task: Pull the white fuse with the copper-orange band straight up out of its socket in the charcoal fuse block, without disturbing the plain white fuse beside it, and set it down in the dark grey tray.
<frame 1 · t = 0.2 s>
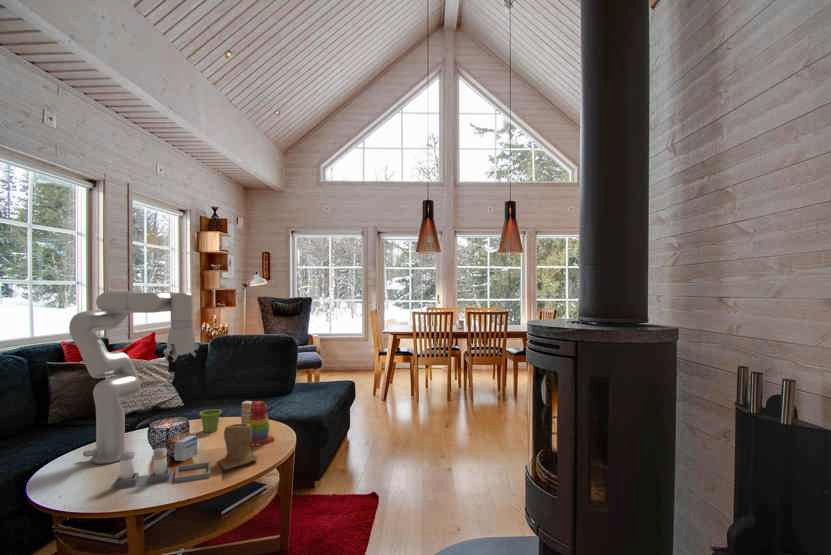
hand: (182, 369, 181), 37 cm above the table, tool pointing down, fingers open, 9 cm apart
supplement box: (251, 430, 224), on the table
fuse block: (143, 485, 164), on the table
brown piece: (235, 464, 182), on the table
tray: (193, 477, 169), on the table
medicine box: (186, 461, 186), on the table
stacking bear: (258, 442, 207), on the table
plain fuse: (127, 483, 162), point 1 cm above the table, touching fuse block
plant pot: (210, 431, 223), on the table
marked fuse: (160, 478, 165), point 1 cm above the table, touching fuse block
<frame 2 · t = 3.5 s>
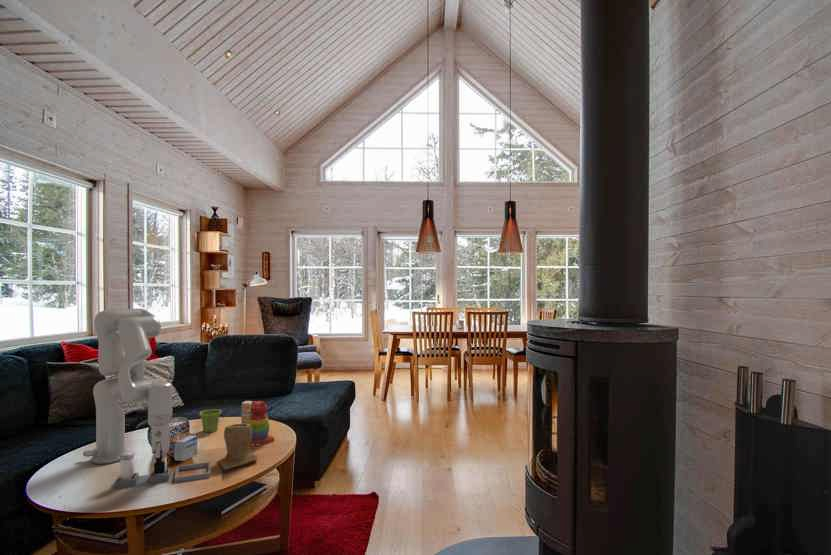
hand: (160, 470, 165), 4 cm above the table, tool pointing down, fingers closed on marked fuse, 4 cm apart
marked fuse: (160, 478, 165), point 1 cm above the table, touching fuse block, gripper
everything else where it was.
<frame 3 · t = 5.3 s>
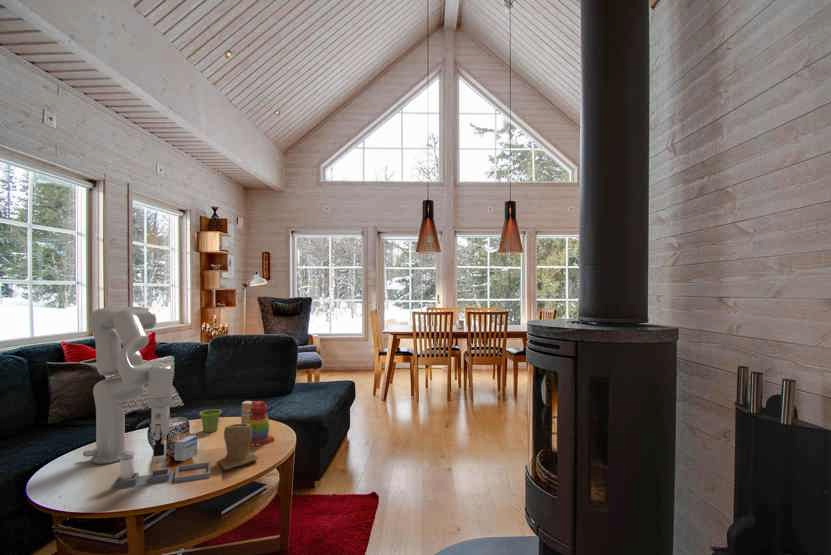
hand: (159, 452, 166), 10 cm above the table, tool pointing down, fingers closed on marked fuse, 4 cm apart
marked fuse: (159, 460, 166), point 8 cm above the table, touching gripper
everything else where it was.
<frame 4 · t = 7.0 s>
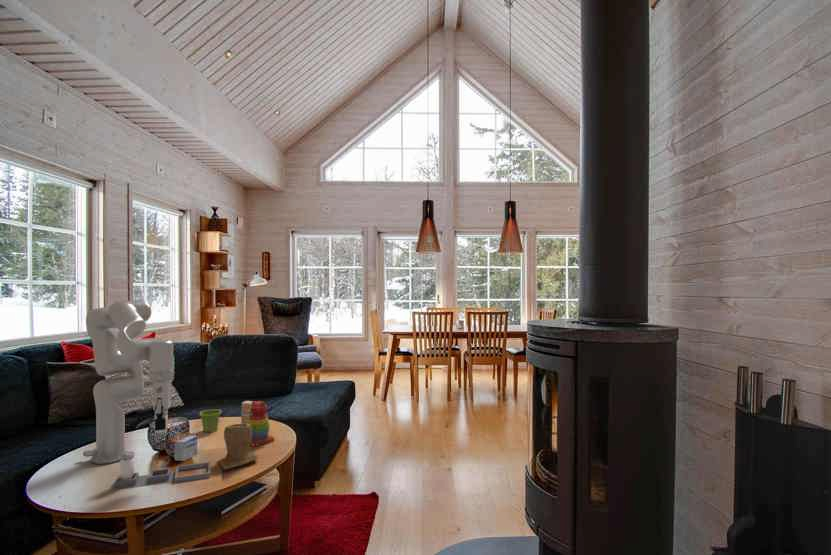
hand: (161, 427, 166), 19 cm above the table, tool pointing down, fingers closed on marked fuse, 4 cm apart
marked fuse: (161, 435, 166), point 16 cm above the table, touching gripper
everything else where it was.
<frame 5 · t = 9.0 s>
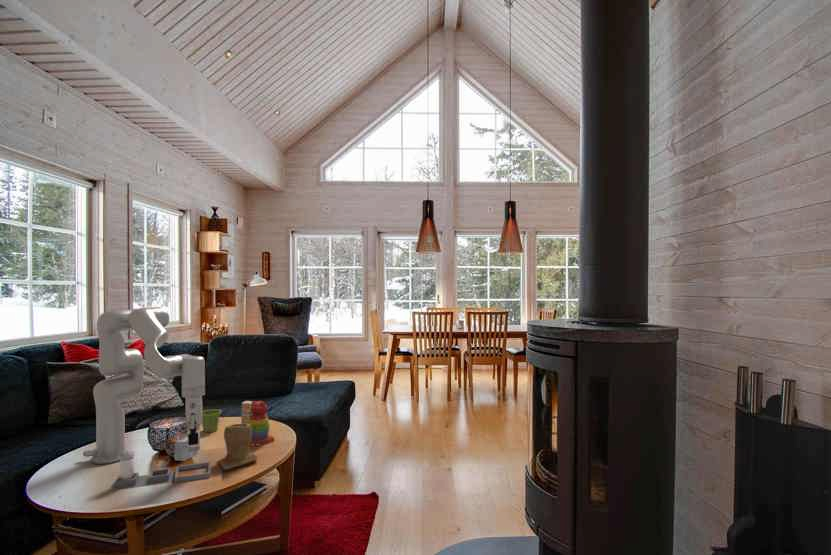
hand: (193, 441, 169), 13 cm above the table, tool pointing down, fingers closed on marked fuse, 4 cm apart
marked fuse: (193, 449, 169), point 10 cm above the table, touching gripper
everything else where it was.
when the fingers open (5 cm above the table, at t = 10.7 s): marked fuse drops 2 cm, resting on tray.
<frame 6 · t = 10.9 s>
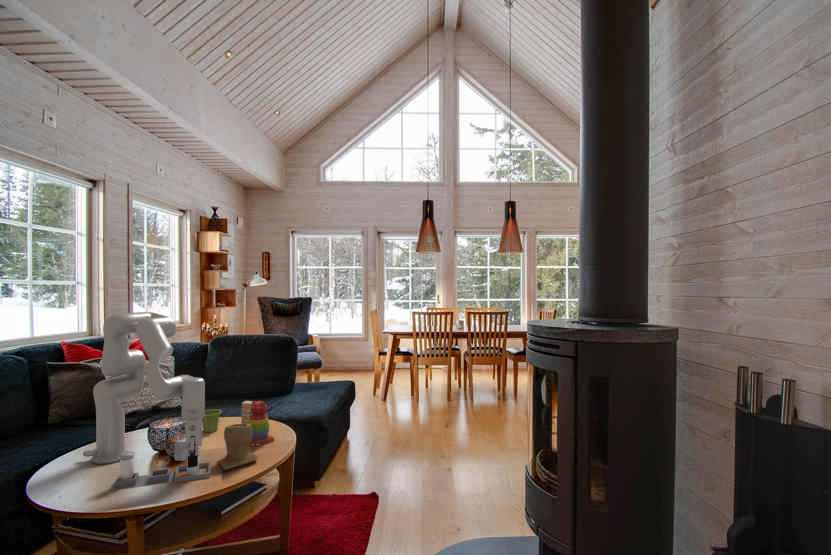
hand: (193, 462, 169), 5 cm above the table, tool pointing down, fingers open, 6 cm apart
marked fuse: (193, 476, 169), point 1 cm above the table, touching tray
everything else where it was.
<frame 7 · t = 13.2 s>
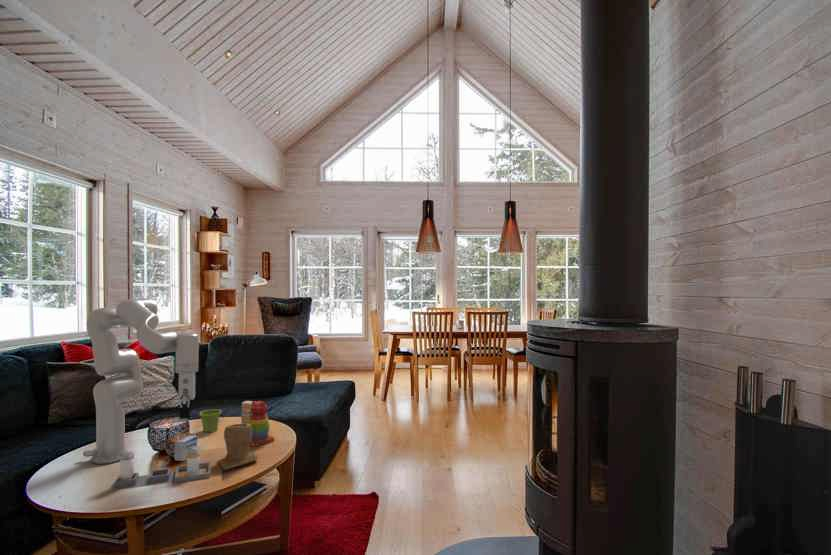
hand: (185, 414, 172), 22 cm above the table, tool pointing down, fingers open, 9 cm apart
nothing on the table moved.
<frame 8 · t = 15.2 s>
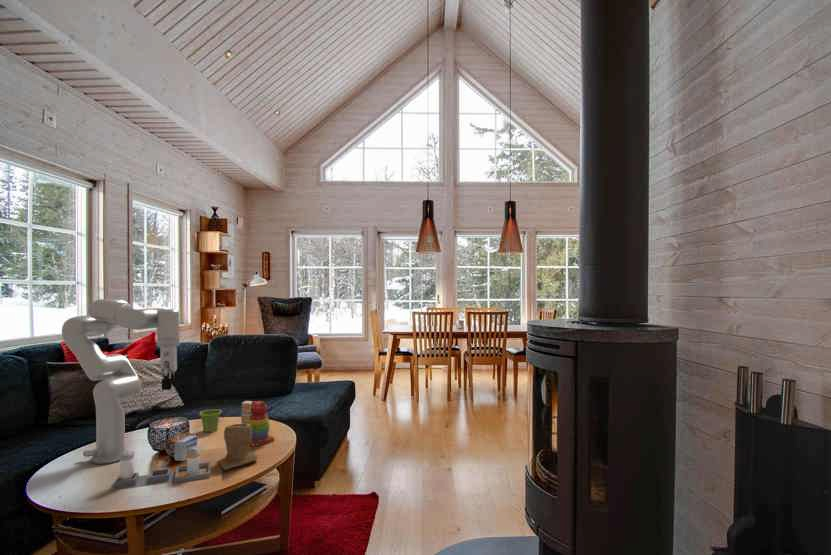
hand: (168, 386, 180), 30 cm above the table, tool pointing down, fingers open, 9 cm apart
nothing on the table moved.
at the end: marked fuse inside the target area on the tray (0.1 cm from its centre), point 0.5 cm above the tray's base; plain fuse moved 0.1 cm from its start; the gripper is holding nothing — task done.
